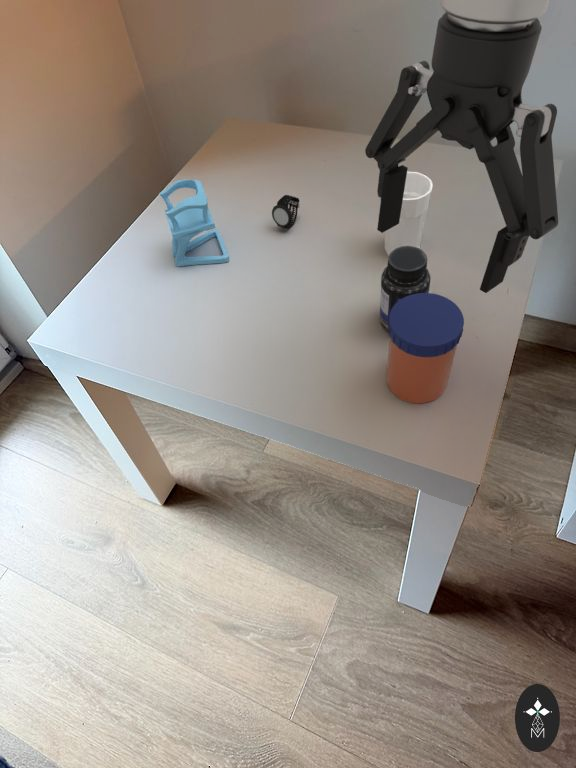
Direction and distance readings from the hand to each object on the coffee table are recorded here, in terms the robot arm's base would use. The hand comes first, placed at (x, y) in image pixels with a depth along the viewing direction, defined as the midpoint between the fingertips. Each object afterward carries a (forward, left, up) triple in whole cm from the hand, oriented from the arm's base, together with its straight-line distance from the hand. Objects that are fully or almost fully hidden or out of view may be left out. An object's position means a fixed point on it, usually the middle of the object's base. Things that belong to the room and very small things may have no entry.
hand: (436, 254), depth 56 cm
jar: (-2, +3, -17) cm, 18 cm away
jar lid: (-2, +3, -7) cm, 7 cm away
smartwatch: (+32, -10, -17) cm, 38 cm away
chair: (+39, +4, -17) cm, 43 cm away
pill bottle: (+6, -4, -17) cm, 19 cm away
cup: (+14, -16, -17) cm, 28 cm away
